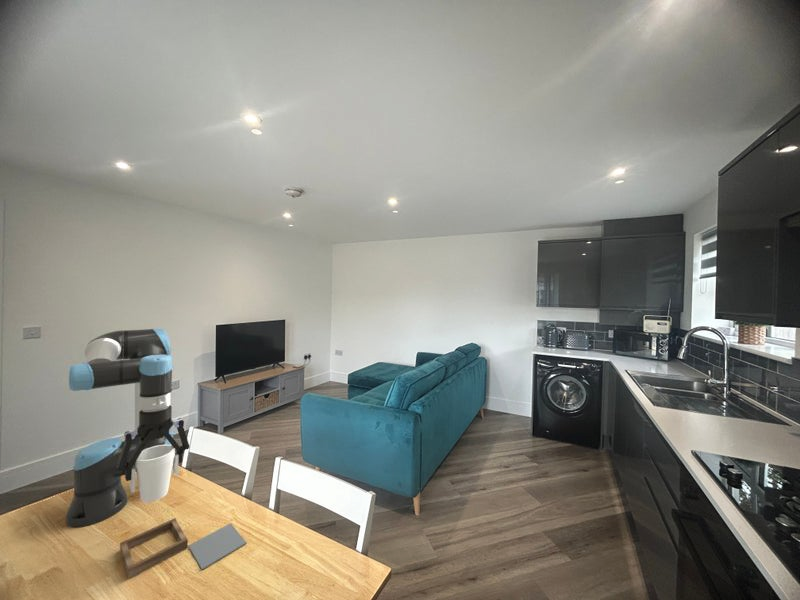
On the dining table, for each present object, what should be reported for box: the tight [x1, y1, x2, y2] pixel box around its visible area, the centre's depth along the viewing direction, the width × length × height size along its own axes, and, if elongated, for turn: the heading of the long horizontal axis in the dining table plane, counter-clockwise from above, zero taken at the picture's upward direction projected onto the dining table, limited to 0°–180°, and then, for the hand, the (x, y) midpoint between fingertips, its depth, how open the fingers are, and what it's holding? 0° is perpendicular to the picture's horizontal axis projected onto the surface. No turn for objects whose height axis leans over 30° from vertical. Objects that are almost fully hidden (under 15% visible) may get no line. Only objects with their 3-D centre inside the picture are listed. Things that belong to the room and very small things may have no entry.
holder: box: [119, 517, 189, 580], centre depth 90 cm, size 13×13×2 cm
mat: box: [188, 523, 247, 571], centre depth 92 cm, size 12×12×1 cm
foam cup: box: [135, 445, 176, 503], centre depth 90 cm, size 10×9×13 cm
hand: (154, 481), depth 90 cm, fingers closed on foam cup, 9 cm apart
